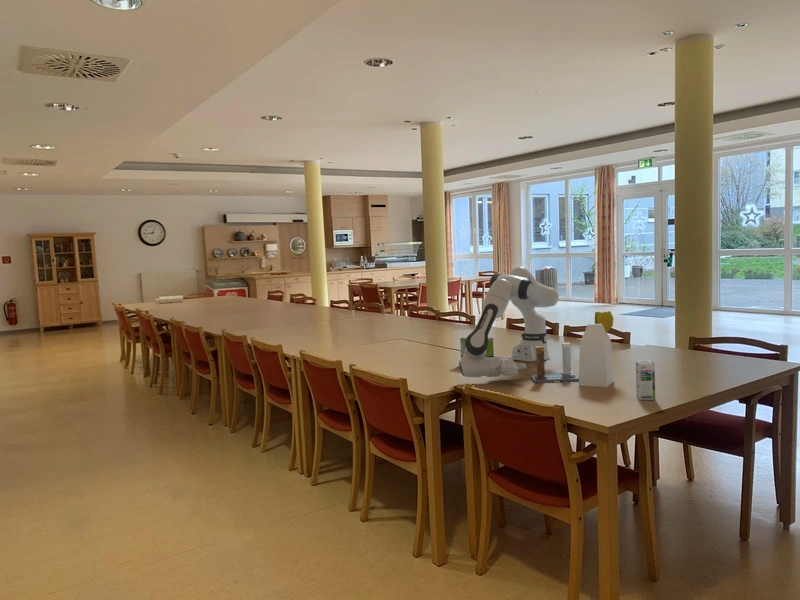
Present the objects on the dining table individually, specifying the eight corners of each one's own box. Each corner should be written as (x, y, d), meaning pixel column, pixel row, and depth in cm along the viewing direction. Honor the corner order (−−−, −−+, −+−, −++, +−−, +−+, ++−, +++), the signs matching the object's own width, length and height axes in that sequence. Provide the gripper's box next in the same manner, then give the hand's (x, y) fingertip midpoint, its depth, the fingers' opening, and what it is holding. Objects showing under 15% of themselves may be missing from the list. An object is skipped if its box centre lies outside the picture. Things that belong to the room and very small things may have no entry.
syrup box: (639, 400, 225) (639, 363, 223) (636, 396, 230) (635, 360, 229) (655, 400, 224) (654, 362, 223) (651, 396, 230) (650, 359, 228)
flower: (615, 378, 263) (614, 311, 261) (596, 378, 265) (595, 312, 262) (613, 373, 271) (612, 309, 269) (595, 373, 273) (593, 310, 271)
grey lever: (562, 374, 269) (561, 344, 268) (560, 372, 273) (559, 342, 272) (573, 374, 269) (572, 343, 267) (571, 372, 273) (570, 342, 271)
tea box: (460, 365, 311) (459, 337, 310) (473, 361, 318) (472, 335, 317) (482, 368, 300) (481, 339, 299) (494, 365, 307) (493, 337, 305)
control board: (534, 382, 262) (534, 377, 262) (530, 376, 275) (529, 371, 275) (579, 381, 261) (579, 375, 261) (573, 374, 274) (573, 369, 273)
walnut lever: (536, 378, 264) (534, 347, 262) (534, 376, 268) (533, 346, 266) (547, 378, 263) (546, 347, 262) (545, 376, 267) (544, 345, 266)
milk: (613, 381, 257) (612, 322, 255) (607, 387, 248) (605, 326, 246) (586, 379, 264) (584, 322, 262) (578, 384, 254) (577, 325, 252)
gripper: (496, 364, 256) (528, 363, 255) (493, 356, 276) (522, 355, 275) (497, 378, 256) (529, 377, 255) (493, 369, 277) (523, 368, 276)
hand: (525, 365), depth 265 cm, fingers closed
